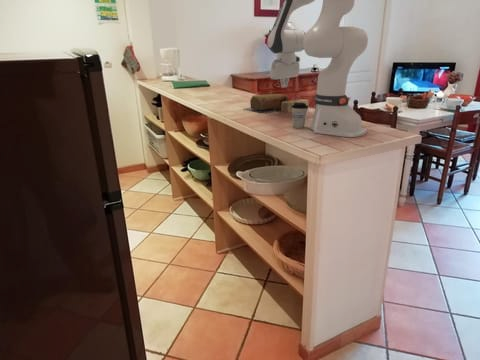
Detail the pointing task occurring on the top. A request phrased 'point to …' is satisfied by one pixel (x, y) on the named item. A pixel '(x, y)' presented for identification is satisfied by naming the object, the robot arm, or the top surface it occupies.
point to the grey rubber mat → (261, 110)
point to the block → (267, 101)
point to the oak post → (288, 105)
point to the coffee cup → (299, 114)
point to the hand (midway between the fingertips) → (284, 87)
